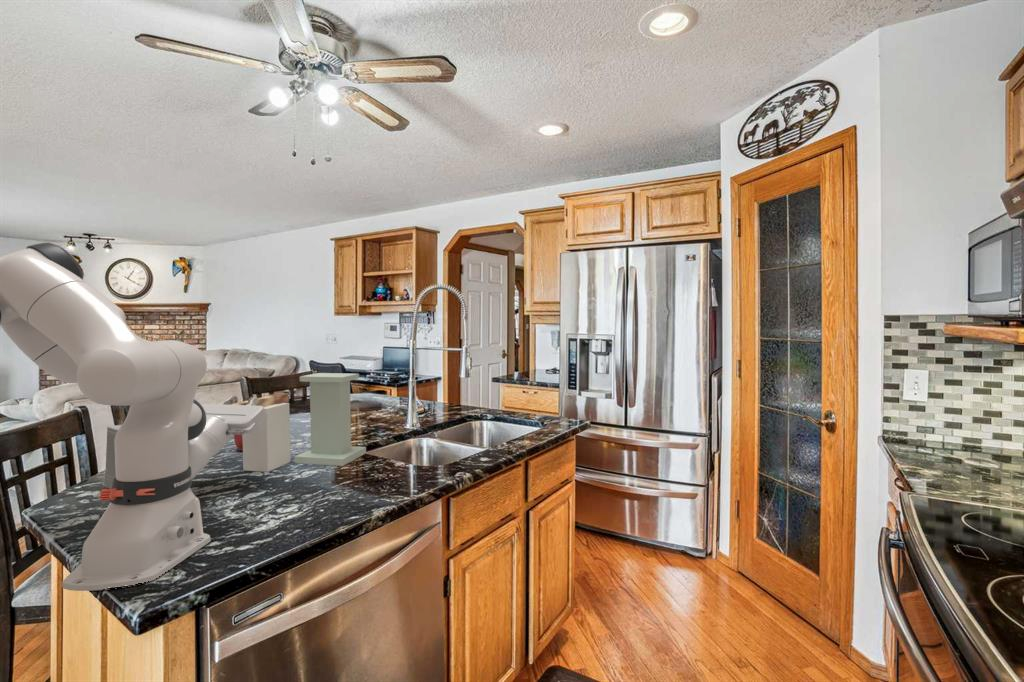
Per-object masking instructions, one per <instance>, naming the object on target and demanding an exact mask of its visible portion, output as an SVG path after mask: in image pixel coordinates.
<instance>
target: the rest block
mask: <svg viewBox="0 0 1024 682" xmlns="http://www.w3.org/2000/svg"><path fill="white" fill-rule="evenodd" d="M264 409H265V410H266V413H267V419H266V420H265V421H264V422H263V423H262V424H261V425H260V426H258V427H257V428H256V429H255V430H254V431H252V432H250V433H247V434H244V435H242V439H243V450H242V468H243V469H242V471H247V472H249V471H250V472H260V473H261V472H265V473H269V472H271V471H273V470H276V469H278V468H280V467H282V466H284V465H287V464H289V463H290V462H291V461H292V459H291V458H292V457H291V423H290V422H291V421H290V415H291V414H290V412H291V411H290V402H285V403H281V404H274V405H270V406H266V407H264Z"/></svg>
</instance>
